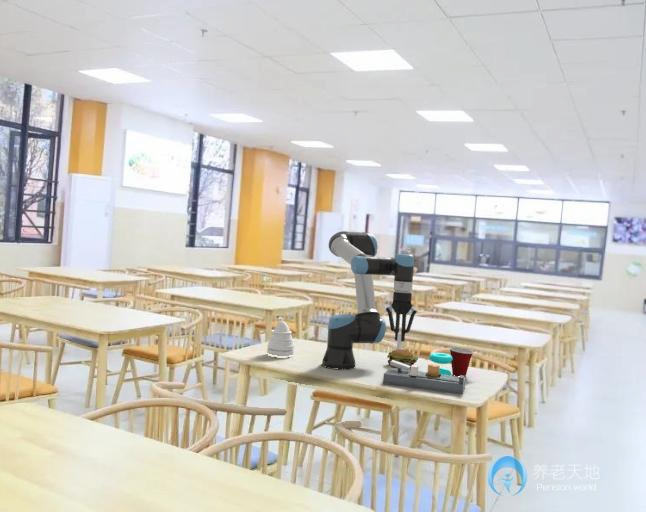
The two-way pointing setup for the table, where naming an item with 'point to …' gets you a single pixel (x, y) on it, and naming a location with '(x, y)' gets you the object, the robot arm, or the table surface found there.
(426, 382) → the console panel
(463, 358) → the plastic cup
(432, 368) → the orange button
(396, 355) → the food
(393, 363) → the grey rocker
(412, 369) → the slider knob
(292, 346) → the honey pot
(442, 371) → the donuts
